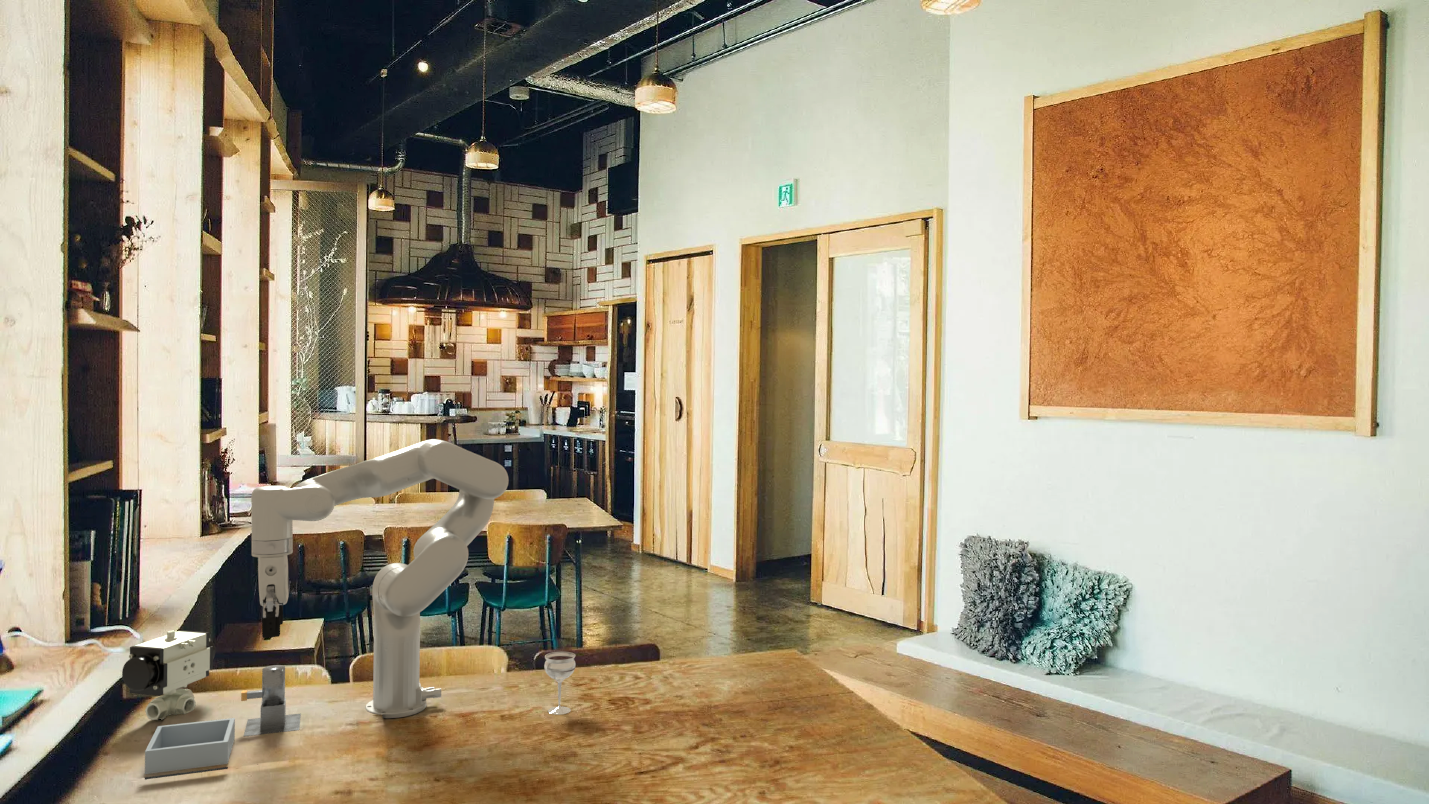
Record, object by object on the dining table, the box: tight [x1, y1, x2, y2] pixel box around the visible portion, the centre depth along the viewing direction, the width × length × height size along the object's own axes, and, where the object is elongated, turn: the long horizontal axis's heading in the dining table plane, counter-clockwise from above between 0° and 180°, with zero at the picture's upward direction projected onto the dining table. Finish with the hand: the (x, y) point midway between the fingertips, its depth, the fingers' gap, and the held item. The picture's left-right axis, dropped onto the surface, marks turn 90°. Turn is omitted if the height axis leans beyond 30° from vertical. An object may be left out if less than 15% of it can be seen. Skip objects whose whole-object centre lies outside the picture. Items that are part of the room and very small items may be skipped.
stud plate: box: [243, 713, 302, 737], centre depth 186 cm, size 10×10×5 cm
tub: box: [144, 717, 236, 780], centre depth 170 cm, size 13×13×5 cm
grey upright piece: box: [240, 664, 287, 730], centre depth 185 cm, size 8×4×12 cm, turn 113°
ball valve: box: [121, 629, 216, 721], centre depth 193 cm, size 18×8×18 cm, turn 168°
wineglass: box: [543, 651, 577, 715], centre depth 200 cm, size 7×7×12 cm
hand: (272, 630), depth 186 cm, fingers open, 9 cm apart
